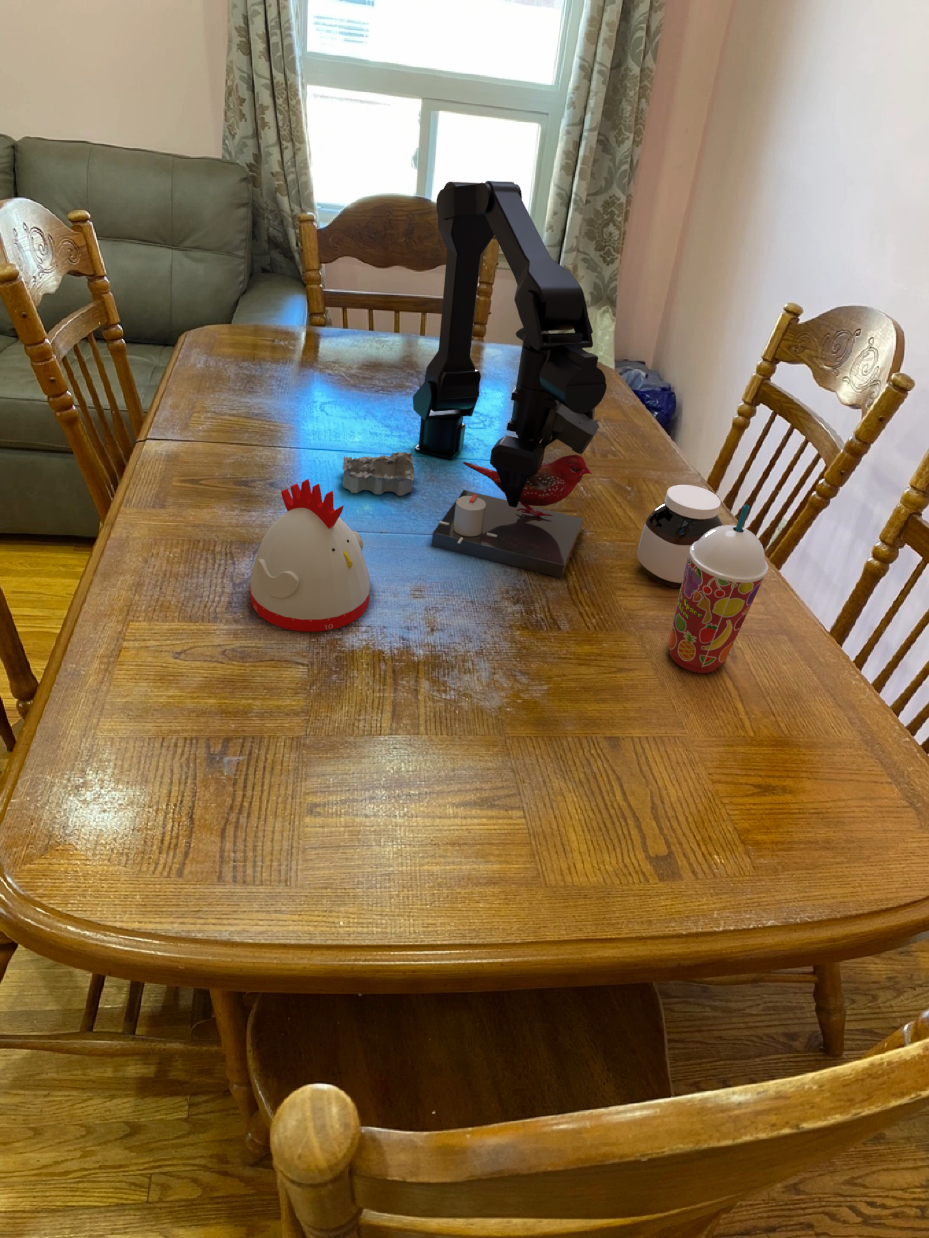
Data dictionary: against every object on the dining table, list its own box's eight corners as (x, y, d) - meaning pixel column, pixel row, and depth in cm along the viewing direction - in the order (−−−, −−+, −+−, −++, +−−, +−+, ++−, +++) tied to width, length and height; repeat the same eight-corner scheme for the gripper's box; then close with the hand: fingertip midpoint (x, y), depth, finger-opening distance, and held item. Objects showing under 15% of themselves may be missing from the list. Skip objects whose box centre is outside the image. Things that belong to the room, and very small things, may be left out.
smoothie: (650, 635, 99) (695, 485, 87) (716, 637, 100) (769, 490, 88) (670, 680, 92) (721, 524, 80) (740, 682, 93) (801, 528, 81)
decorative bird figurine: (580, 528, 114) (594, 462, 109) (456, 506, 116) (463, 440, 110) (581, 519, 117) (595, 454, 111) (459, 497, 118) (467, 432, 112)
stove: (427, 548, 109) (429, 534, 108) (461, 501, 121) (463, 488, 120) (559, 582, 106) (562, 568, 105) (580, 530, 118) (583, 517, 117)
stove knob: (477, 539, 109) (481, 510, 106) (449, 532, 110) (452, 503, 107) (485, 526, 112) (489, 498, 110) (458, 519, 113) (461, 491, 110)
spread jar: (659, 595, 106) (683, 516, 99) (608, 552, 114) (627, 475, 107) (728, 579, 111) (755, 503, 105) (675, 539, 119) (697, 465, 112)
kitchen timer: (317, 647, 90) (317, 527, 81) (225, 600, 95) (216, 483, 86) (392, 593, 100) (400, 482, 91) (305, 553, 105) (304, 444, 97)
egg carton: (413, 476, 127) (415, 452, 124) (412, 499, 120) (414, 474, 118) (344, 470, 126) (344, 445, 123) (339, 492, 120) (340, 467, 117)
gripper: (587, 421, 96) (564, 536, 105) (611, 375, 111) (589, 479, 120) (497, 401, 98) (481, 516, 107) (532, 358, 113) (516, 462, 122)
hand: (521, 492), depth 114 cm, fingers open, 9 cm apart
